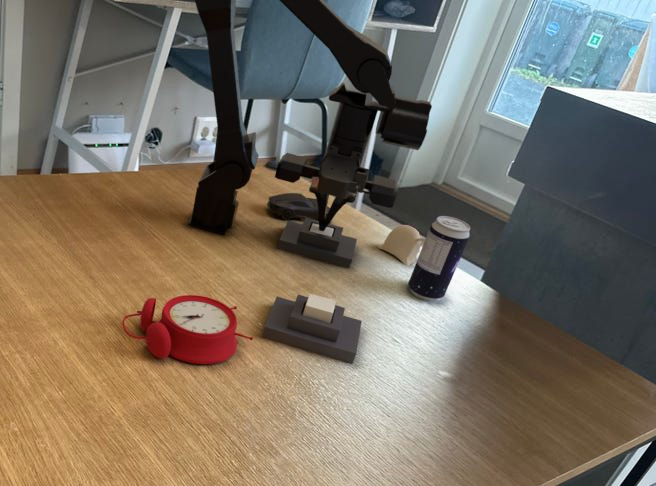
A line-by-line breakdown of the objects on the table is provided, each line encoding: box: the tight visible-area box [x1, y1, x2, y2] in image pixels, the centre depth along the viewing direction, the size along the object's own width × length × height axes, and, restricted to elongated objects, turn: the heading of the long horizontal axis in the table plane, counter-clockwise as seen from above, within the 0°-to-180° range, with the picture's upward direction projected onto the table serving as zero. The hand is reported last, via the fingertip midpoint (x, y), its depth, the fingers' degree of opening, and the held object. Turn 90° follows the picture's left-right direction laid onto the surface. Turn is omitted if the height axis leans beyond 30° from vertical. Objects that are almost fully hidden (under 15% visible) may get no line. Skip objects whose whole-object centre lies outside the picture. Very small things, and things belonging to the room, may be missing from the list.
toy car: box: [266, 192, 330, 222], centre depth 127 cm, size 6×12×4 cm, turn 99°
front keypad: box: [261, 294, 363, 365], centre depth 93 cm, size 12×9×4 cm
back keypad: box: [276, 218, 358, 270], centre depth 116 cm, size 12×9×4 cm
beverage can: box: [407, 215, 471, 302], centre depth 106 cm, size 6×6×12 cm
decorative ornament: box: [377, 224, 426, 266], centre depth 118 cm, size 4×8×5 cm, turn 32°
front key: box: [303, 293, 337, 323], centre depth 92 cm, size 4×4×2 cm
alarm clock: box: [121, 294, 254, 365], centre depth 86 cm, size 10×6×15 cm
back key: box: [310, 223, 334, 237], centre depth 116 cm, size 4×4×2 cm
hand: (321, 229), depth 115 cm, fingers closed, pressing on back key
